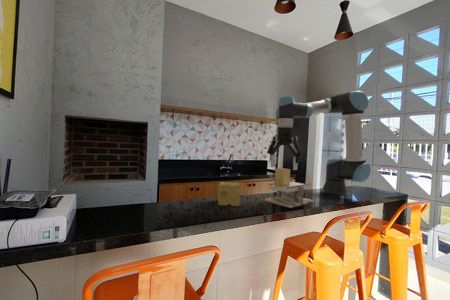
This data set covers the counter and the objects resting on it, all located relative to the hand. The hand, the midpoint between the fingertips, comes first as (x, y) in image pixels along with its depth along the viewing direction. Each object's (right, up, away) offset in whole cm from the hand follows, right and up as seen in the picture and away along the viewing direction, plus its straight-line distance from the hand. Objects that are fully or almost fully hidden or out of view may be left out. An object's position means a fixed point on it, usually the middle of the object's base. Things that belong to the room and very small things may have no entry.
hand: (283, 168), depth 120 cm
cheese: (-29, -17, -5) cm, 34 cm away
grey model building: (+5, -14, +5) cm, 16 cm away
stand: (+4, -18, +5) cm, 20 cm away
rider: (-1, -9, 0) cm, 9 cm away
